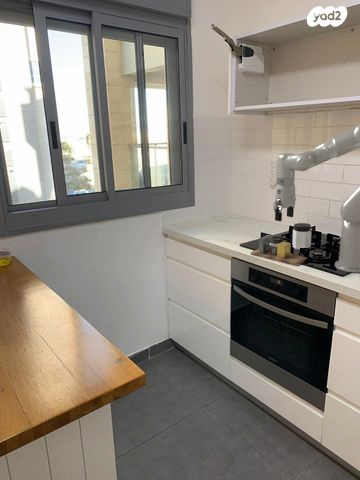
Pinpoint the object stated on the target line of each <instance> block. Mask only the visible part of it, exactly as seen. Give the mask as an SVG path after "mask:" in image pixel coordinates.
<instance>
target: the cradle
mask: <svg viewBox="0 0 360 480" xmlns="http://www.w3.org/2000/svg"><path fill="white" fill-rule="evenodd" d="M272 255H275V256H276V255H277V248H276V247H273V248H272Z"/></svg>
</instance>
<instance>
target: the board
mask: <svg viewBox="0 0 360 480" xmlns="http://www.w3.org/2000/svg"><path fill="white" fill-rule="evenodd" d="M250 255H251V256H255V257H259V258H263V259H267V260H271V261H275V262H279V263H282V264H287V265H291V266H294V267H297V266H299V265H301V264H303V263H305V262H306V261H305V260H306V259H307V260H308V257H306V256H302V255H297V254H293V253H290V255H289V256H287V257H285V258H283V257H278V256H277V255H276V256H275V255H272V251H270V252H268V253H266V254H259V248H258V249H255V250H253V251H251V252H250ZM304 261H305V262H304Z"/></svg>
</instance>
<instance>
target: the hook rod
mask: <svg viewBox="0 0 360 480" xmlns="http://www.w3.org/2000/svg"><path fill="white" fill-rule="evenodd" d="M266 245H267V246H272V247H273V248H274V247H276V248H277V256H278V257H283V258H285V257H287V256H289V255H290V254H291V242H287V241H282V242H279V243H274V242H273V243H269V242H266Z"/></svg>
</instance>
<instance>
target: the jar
mask: <svg viewBox="0 0 360 480" xmlns="http://www.w3.org/2000/svg"><path fill="white" fill-rule="evenodd" d="M311 226H312V225H311V224H310V223H305V222H298V223H294V224H293V229H292V245H293V246H292V247H293V248H294V249H295V250H300V248H309V247H311V245H312V244H311V243H312V227H311ZM311 248H312V247H311ZM309 249H310V248H309Z"/></svg>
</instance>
